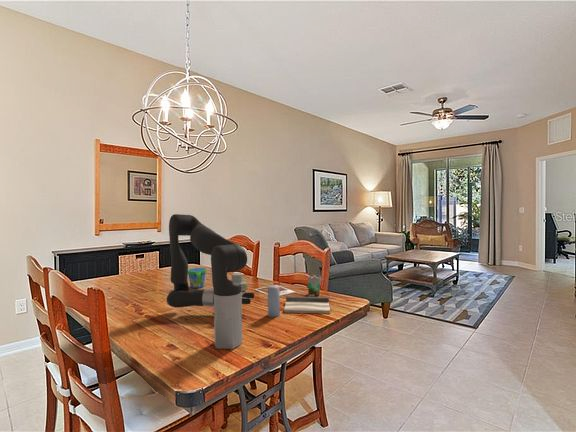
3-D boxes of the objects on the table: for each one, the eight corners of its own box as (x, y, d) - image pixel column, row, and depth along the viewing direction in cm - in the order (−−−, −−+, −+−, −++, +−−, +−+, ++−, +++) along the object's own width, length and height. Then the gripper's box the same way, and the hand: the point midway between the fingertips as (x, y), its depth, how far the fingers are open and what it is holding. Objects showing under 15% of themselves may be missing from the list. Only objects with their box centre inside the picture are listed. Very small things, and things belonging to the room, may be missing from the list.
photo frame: (272, 296, 158) (254, 288, 172) (272, 298, 158) (254, 290, 172) (295, 291, 166) (276, 284, 181) (295, 293, 166) (276, 286, 181)
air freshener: (234, 296, 161) (234, 276, 161) (224, 293, 167) (224, 274, 166) (250, 291, 169) (249, 273, 169) (240, 289, 175) (239, 271, 174)
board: (330, 313, 133) (330, 306, 133) (283, 312, 135) (283, 305, 135) (328, 303, 147) (328, 297, 147) (286, 302, 149) (286, 296, 149)
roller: (279, 317, 130) (278, 288, 129) (267, 316, 130) (266, 288, 130) (280, 313, 135) (280, 285, 134) (268, 312, 135) (268, 285, 135)
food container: (320, 299, 154) (320, 279, 154) (308, 298, 155) (307, 278, 155) (322, 292, 166) (322, 273, 166) (311, 291, 167) (311, 273, 167)
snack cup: (207, 289, 174) (207, 271, 174) (187, 291, 171) (187, 272, 171) (206, 283, 189) (205, 266, 189) (187, 284, 186) (187, 267, 186)
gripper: (209, 293, 127) (248, 294, 125) (219, 285, 141) (255, 285, 140) (209, 312, 127) (249, 312, 126) (220, 301, 141) (255, 301, 140)
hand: (252, 298), depth 133 cm, fingers open, 8 cm apart
